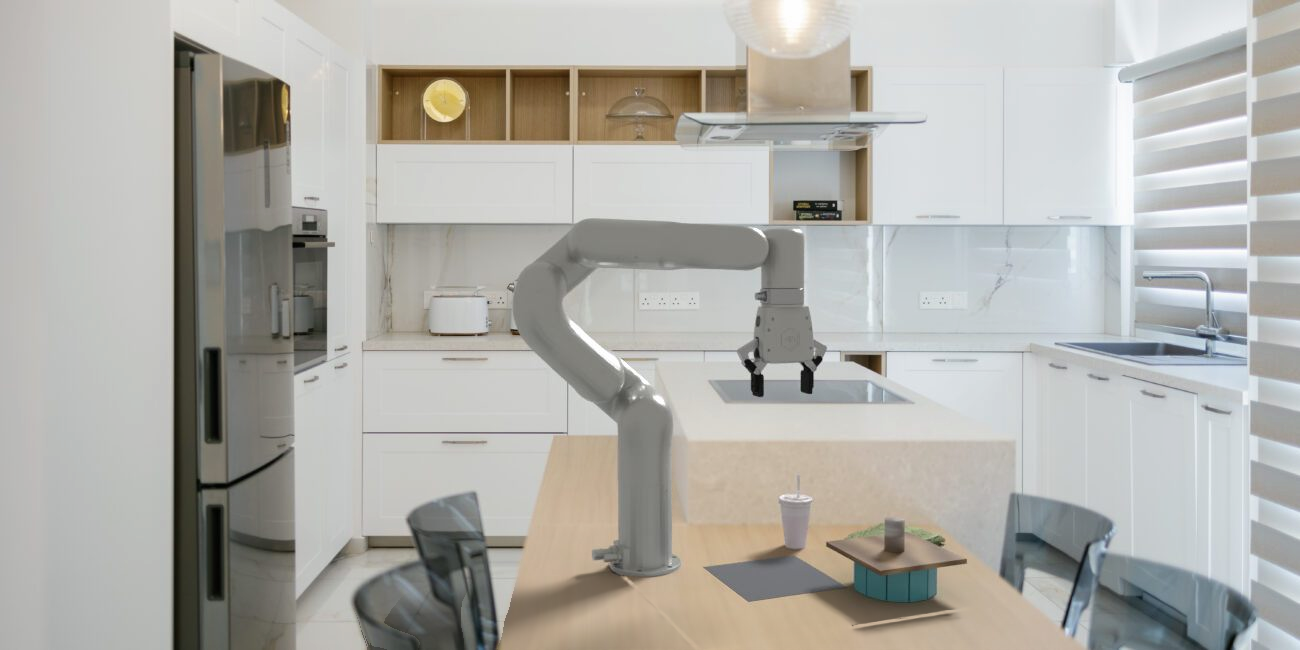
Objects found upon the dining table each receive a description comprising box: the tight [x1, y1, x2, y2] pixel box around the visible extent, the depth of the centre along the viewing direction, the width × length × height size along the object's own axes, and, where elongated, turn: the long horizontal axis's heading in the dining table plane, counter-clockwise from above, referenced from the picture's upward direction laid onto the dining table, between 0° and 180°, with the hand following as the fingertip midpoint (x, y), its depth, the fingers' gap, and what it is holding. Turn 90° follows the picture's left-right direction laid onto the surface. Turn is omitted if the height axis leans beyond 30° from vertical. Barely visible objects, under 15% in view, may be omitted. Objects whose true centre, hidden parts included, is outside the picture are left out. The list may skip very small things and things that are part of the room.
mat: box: [703, 554, 848, 603], centre depth 161 cm, size 18×18×1 cm
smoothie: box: [778, 474, 814, 550], centre depth 177 cm, size 6×6×14 cm
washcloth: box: [843, 522, 946, 546], centre depth 179 cm, size 13×18×3 cm
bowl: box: [852, 561, 938, 603], centre depth 155 cm, size 13×13×6 cm
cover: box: [825, 516, 968, 576], centre depth 154 cm, size 16×16×6 cm
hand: (782, 394), depth 168 cm, fingers open, 9 cm apart
